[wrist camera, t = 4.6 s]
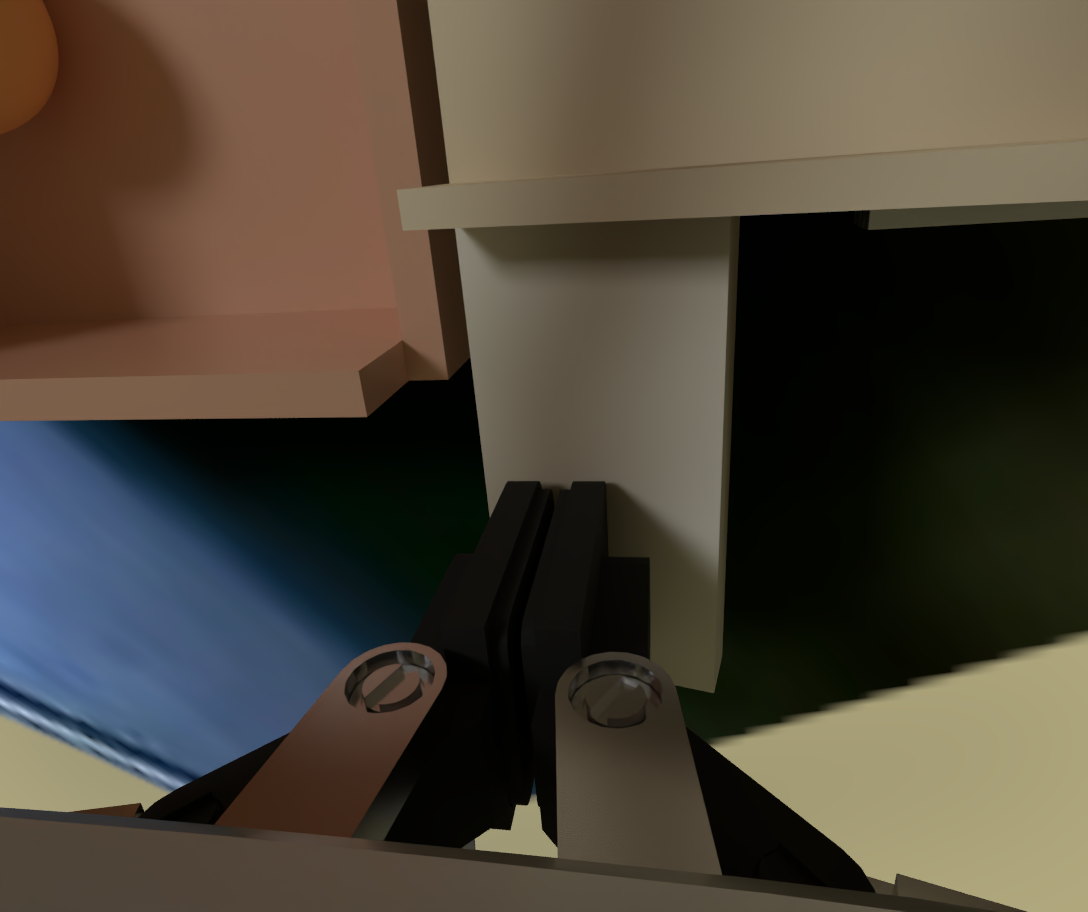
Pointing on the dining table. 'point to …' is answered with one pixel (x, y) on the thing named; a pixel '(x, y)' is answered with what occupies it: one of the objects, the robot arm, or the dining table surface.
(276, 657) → the dining table surface
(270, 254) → the pink open box
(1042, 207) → the pivot stand
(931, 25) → the tray
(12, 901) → the robot arm
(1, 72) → the ball
